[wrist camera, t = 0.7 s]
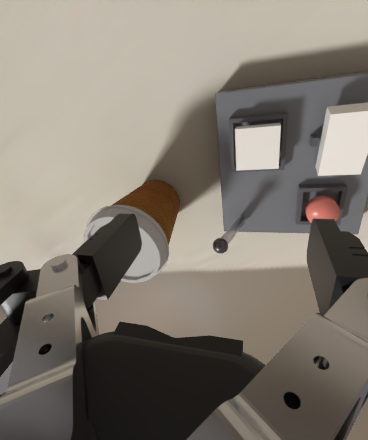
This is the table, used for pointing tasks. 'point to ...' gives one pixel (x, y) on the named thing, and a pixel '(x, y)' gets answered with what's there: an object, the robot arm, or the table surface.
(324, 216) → the button
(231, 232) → the toggle
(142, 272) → the disposable coffee cup
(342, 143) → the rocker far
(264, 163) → the paddle
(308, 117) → the panel
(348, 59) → the table surface
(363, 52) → the table surface
